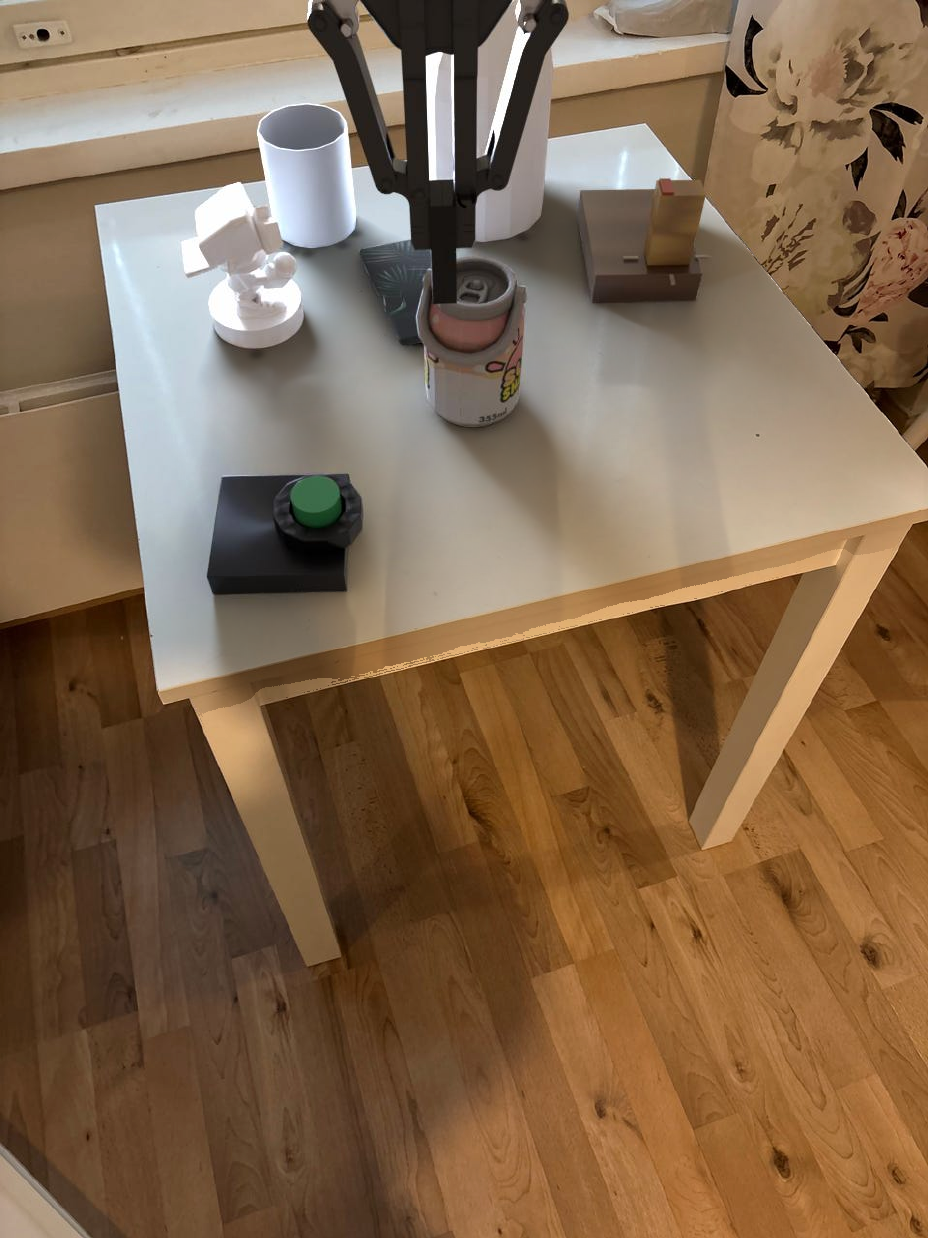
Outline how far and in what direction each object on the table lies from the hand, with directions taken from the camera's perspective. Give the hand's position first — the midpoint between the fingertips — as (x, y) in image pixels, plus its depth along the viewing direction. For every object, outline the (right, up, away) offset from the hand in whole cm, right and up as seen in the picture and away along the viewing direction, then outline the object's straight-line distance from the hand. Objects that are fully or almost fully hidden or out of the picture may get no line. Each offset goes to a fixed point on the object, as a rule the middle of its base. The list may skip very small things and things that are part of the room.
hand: (444, 289), depth 60 cm
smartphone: (-4, +10, +31) cm, 33 cm away
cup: (-14, +20, +38) cm, 45 cm away
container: (+3, +23, +40) cm, 46 cm away
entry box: (-13, -15, +14) cm, 24 cm away
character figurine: (-19, +7, +29) cm, 36 cm away
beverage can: (+2, -2, +23) cm, 23 cm away
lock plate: (+18, +15, +35) cm, 42 cm away
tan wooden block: (+20, +13, +30) cm, 39 cm away
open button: (-10, -13, +11) cm, 19 cm away
